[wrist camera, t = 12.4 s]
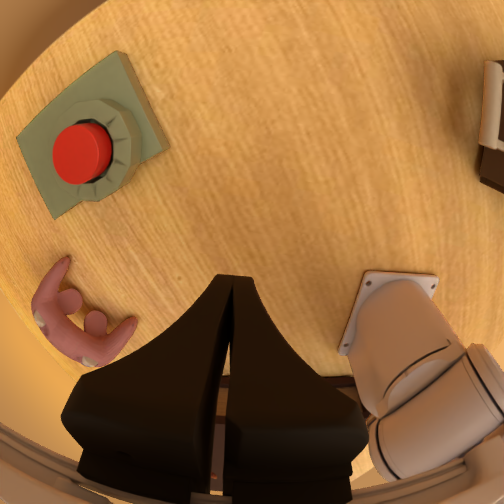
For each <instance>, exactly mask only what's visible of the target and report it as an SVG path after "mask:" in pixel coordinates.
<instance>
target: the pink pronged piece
mask: <svg viewBox="0 0 504 504" xmlns="http://www.w3.org/2000/svg"><path fill="white" fill-rule="evenodd" d="M69 263H70V259H69V258H68V257H63V258H61V259H60V260H59V261H58V262H56V263H55V264H54V266H53V267H52V268H51V269H50V270H49V272H48V273H47V274H46V275H45V277H44V278H43V280H42V281H41V283H40V285H39V287H38V289H37V290H36V292H35V294H34V296H33V298H32V302H31V309H32V313H33V316H34V318H35V321H36V323H37V325H38V326H39V328H40V330H41V331H42V333H43V334H44V336H45V337H46V338H47V339H48V340H49V341H50V343H51V344H52V345H53V346H54V347H56V348H57V349H58V350H59V351H60V352H62V353H63V354H64V355H66V356H68V357H69V358H71V359H73V360H75V361H77V362H79V363H81V364H83V365H85V366H88V367H102V366H105V365H107V364H108V363H110V362H111V361H112V360H113V359H114V358H115V357H116V356H117V355H118V354H119V353H120V351H121V350H122V349H123V347H124V346H125V345H126V343H127V342H128V340H129V339H130V338H131V336H132V335H133V333H134V331H135V329H136V327H137V318H136V317H131V318H128V319H127V320H125V321H123V322H122V323H121V324H120V325H119V326H117V327H116V328H115V329H114V330H113V331H112V332H111V333H110V334H107V332H106V329H107V318H106V316H105V315H104V314H103V313H101V312H99V311H91V312H89V313H88V314H87V315H86V317H85V319H84V331H83V330H81V329H80V328H79V327H77V326H76V325H75V324H74V323H73V322H72V321H71V320H70V319H69V318H68V317H67V316H66V315H70V314H74V313H75V312H77V311H78V310H79V309H80V308H81V306H82V297H81V295H80V293H79V292H78V291H77V290H75V289H67V290H65V291H63V292H58V289H59V285H60V283H61V281H62V279H63V277H64V275H65V273H66V271H67V269H68V267H69Z"/></svg>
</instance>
